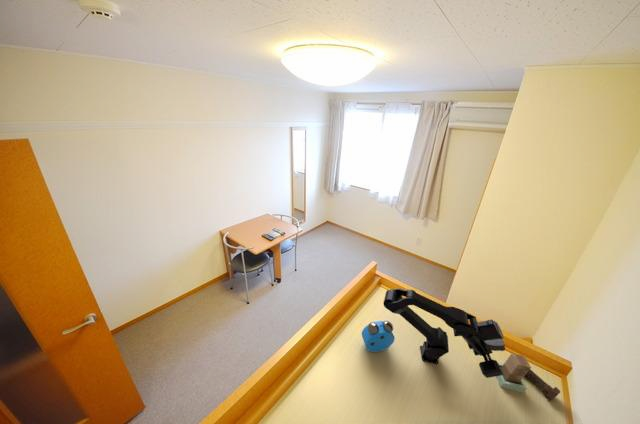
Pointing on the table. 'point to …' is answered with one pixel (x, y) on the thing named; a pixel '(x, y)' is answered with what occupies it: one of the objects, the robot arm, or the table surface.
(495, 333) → the robot arm
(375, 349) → the alarm clock
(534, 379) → the bolt
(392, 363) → the table surface
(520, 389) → the collar
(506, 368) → the peg
